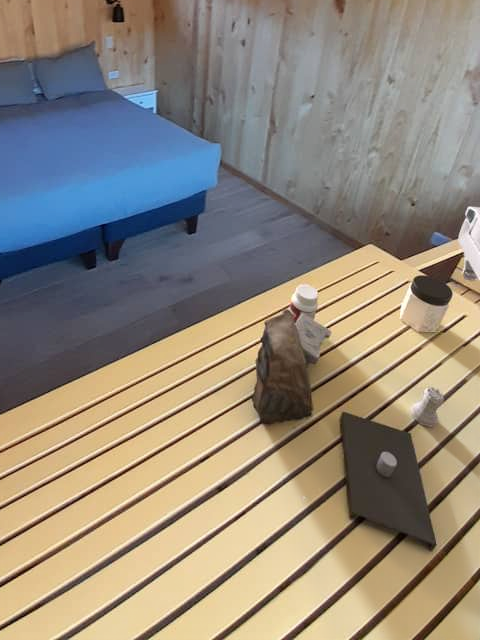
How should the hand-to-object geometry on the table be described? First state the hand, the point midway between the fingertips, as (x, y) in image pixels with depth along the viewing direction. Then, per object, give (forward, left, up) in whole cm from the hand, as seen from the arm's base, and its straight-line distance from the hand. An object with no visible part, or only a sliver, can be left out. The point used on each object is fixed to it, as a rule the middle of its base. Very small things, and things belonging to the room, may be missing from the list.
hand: (476, 294), depth 75 cm
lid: (+12, +22, -29) cm, 38 cm away
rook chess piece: (+2, +6, -29) cm, 30 cm away
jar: (-3, -22, -29) cm, 37 cm away
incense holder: (+26, +2, -29) cm, 39 cm away
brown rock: (+30, +14, -29) cm, 44 cm away
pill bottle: (+26, -10, -29) cm, 40 cm away
